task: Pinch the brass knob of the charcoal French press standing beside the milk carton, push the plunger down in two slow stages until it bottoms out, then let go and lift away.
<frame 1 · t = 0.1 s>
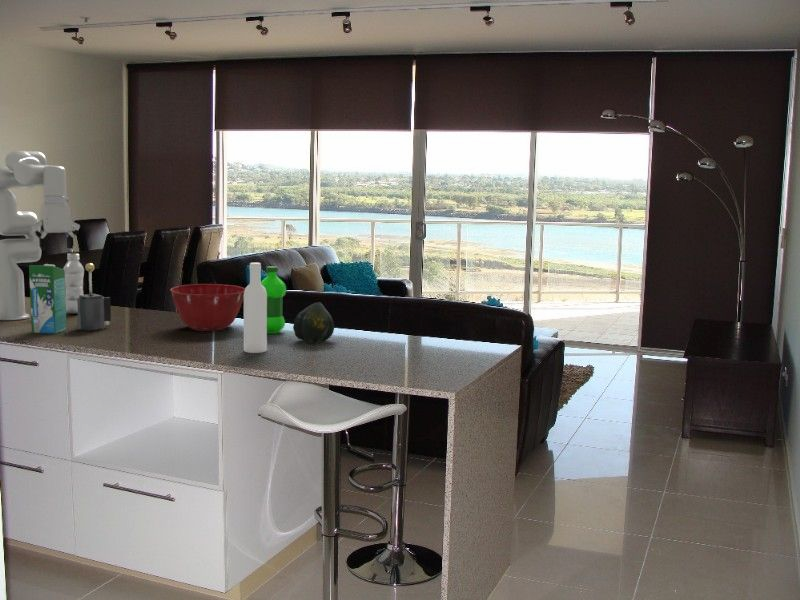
hand: (56, 248, 313), 31 cm above the kitchen island, tool pointing down, fingers open, 9 cm apart
plastic bottle: (75, 314, 363), on the kitchen island
plunger: (90, 284, 327), point 17 cm above the kitchen island, slide at 0.0 cm
bottle: (255, 351, 297), on the kitchen island
squash: (313, 342, 315), on the kitchen island
mixing bowl: (208, 328, 338), on the kitchen island
white egg shape: (99, 324, 340), on the kitchen island
plastic bottle 2: (272, 332, 332), on the kitchen island
carafe: (91, 329, 330), on the kitchen island
milk carton: (49, 331, 324), on the kitchen island
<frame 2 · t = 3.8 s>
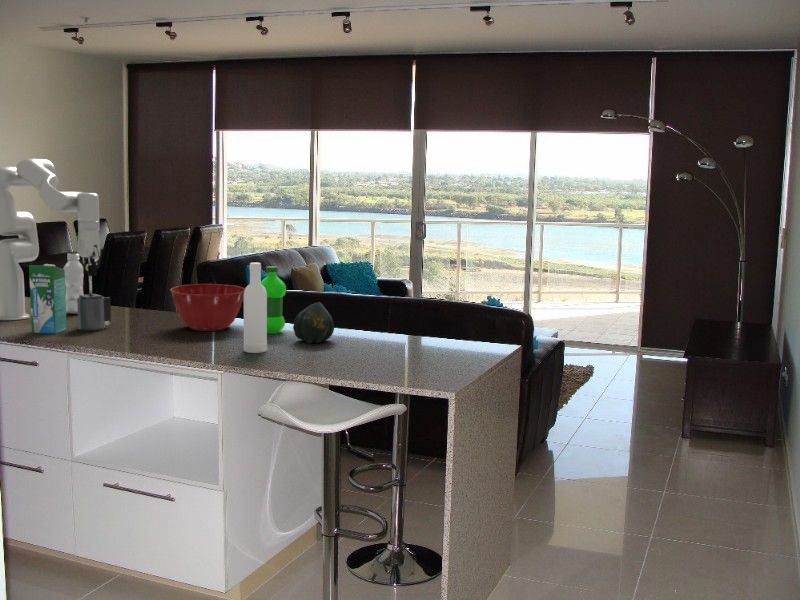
hand: (90, 274, 327), 21 cm above the kitchen island, tool pointing down, fingers closed on plunger, 3 cm apart
plunger: (90, 284, 327), point 17 cm above the kitchen island, slide at 0.0 cm, touching gripper
everything else where it was.
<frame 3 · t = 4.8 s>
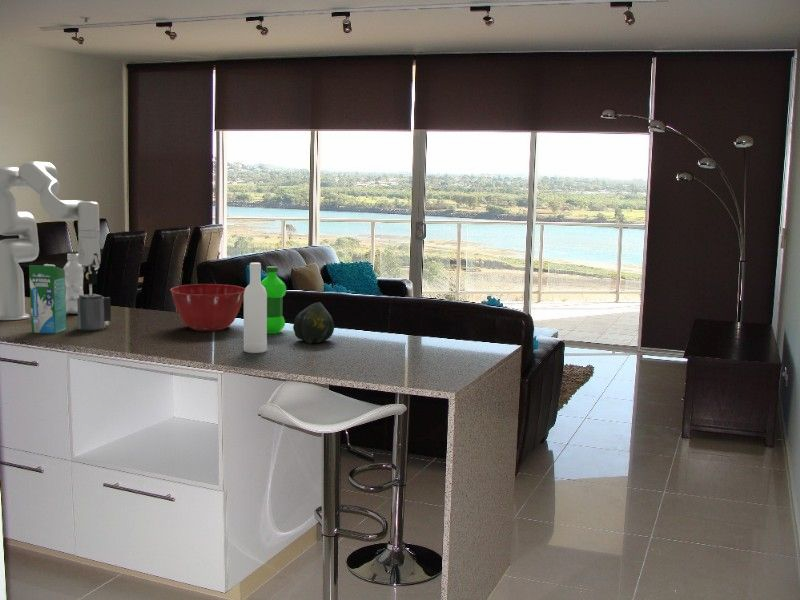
hand: (90, 283, 327), 17 cm above the kitchen island, tool pointing down, fingers closed on plunger, 3 cm apart
plunger: (90, 293, 328), point 14 cm above the kitchen island, slide at 3.2 cm, touching gripper
everything else where it was.
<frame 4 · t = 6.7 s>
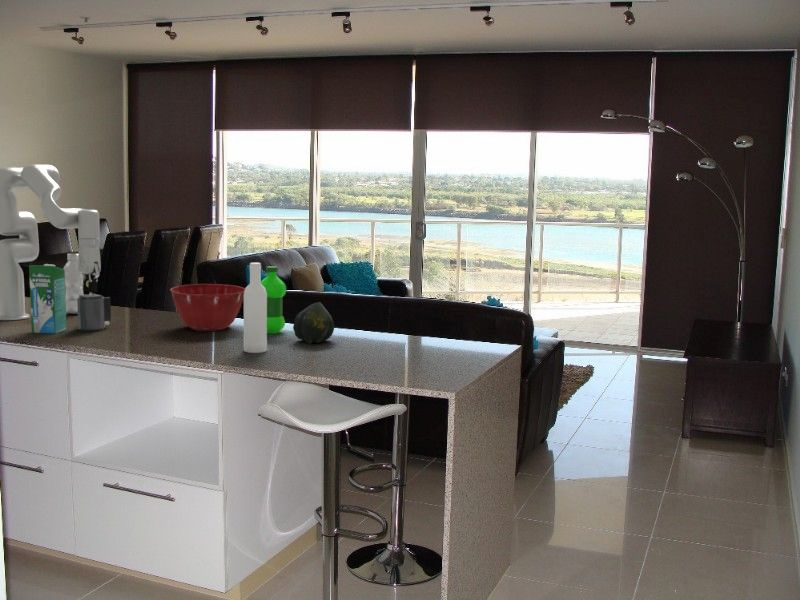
hand: (90, 291, 328), 14 cm above the kitchen island, tool pointing down, fingers closed on plunger, 3 cm apart
plunger: (90, 301, 328), point 11 cm above the kitchen island, slide at 6.2 cm, touching gripper
everything else where it was.
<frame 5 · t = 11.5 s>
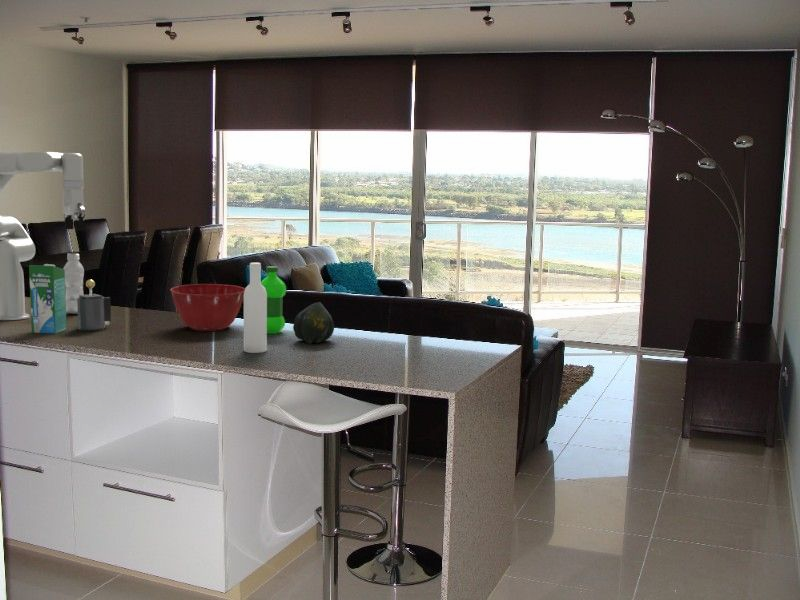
hand: (74, 230, 338), 36 cm above the kitchen island, tool pointing down, fingers open, 9 cm apart
plunger: (90, 301, 328), point 11 cm above the kitchen island, slide at 6.2 cm
everything else where it was.
at the end: plunger slide at 6.2 cm; the gripper is holding nothing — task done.
